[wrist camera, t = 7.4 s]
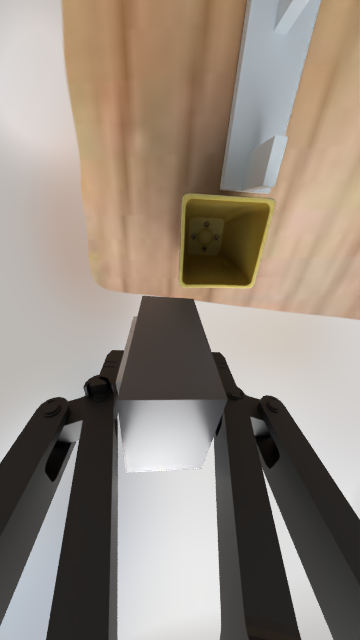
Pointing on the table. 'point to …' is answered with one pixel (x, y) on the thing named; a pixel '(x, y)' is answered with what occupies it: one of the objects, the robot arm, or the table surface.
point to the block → (169, 389)
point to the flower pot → (222, 240)
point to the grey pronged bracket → (265, 91)
